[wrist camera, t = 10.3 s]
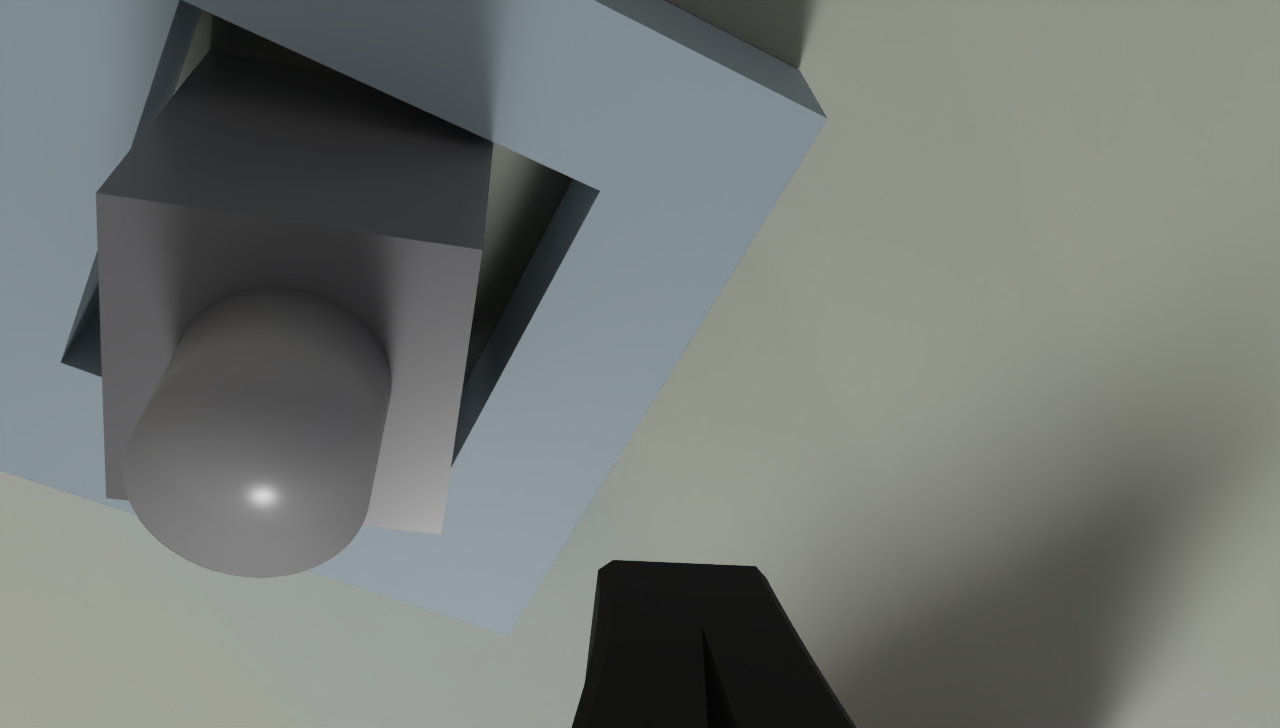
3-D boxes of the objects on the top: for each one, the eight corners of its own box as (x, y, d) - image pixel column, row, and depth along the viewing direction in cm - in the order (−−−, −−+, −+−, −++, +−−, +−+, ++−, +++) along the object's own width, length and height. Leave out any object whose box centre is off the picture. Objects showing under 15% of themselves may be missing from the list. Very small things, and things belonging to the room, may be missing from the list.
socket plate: (93, -295, 14) (33, -284, 13) (799, 70, 17) (826, 118, 16) (-76, 353, 19) (-138, 425, 17) (510, 556, 22) (508, 636, 20)
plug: (209, 49, 17) (24, 282, 11) (497, 97, 17) (473, 342, 11) (206, 300, 19) (47, 614, 13) (463, 335, 19) (428, 650, 13)
